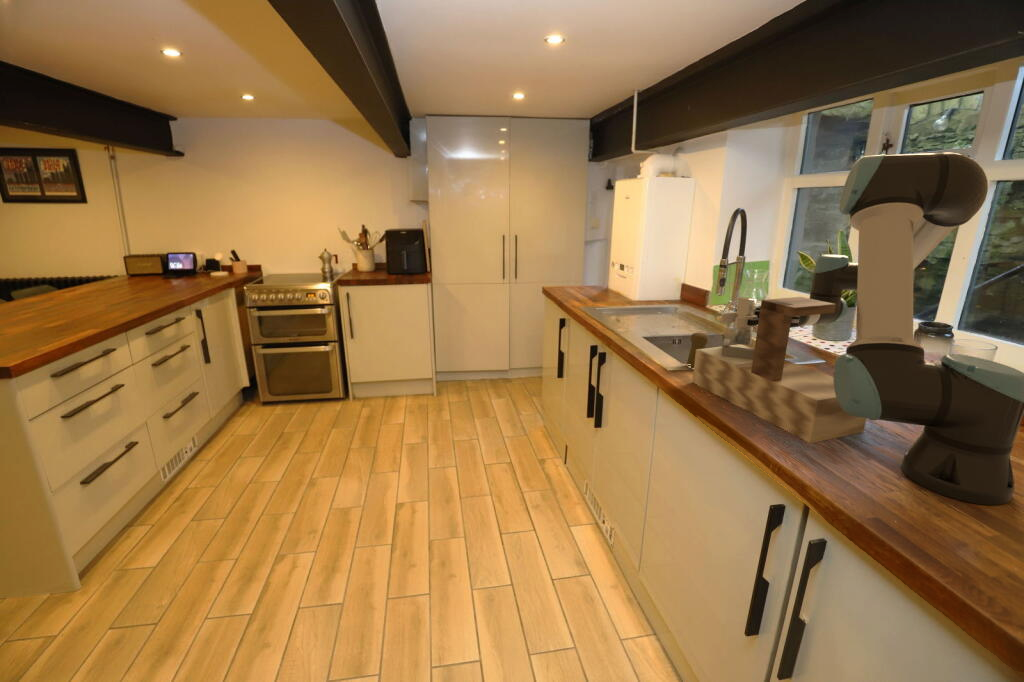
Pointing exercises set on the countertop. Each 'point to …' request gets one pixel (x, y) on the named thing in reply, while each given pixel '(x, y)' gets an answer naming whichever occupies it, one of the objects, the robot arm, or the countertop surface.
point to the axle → (744, 309)
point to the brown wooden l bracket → (780, 332)
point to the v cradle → (731, 353)
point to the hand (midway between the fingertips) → (728, 320)
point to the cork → (696, 346)
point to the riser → (781, 397)
